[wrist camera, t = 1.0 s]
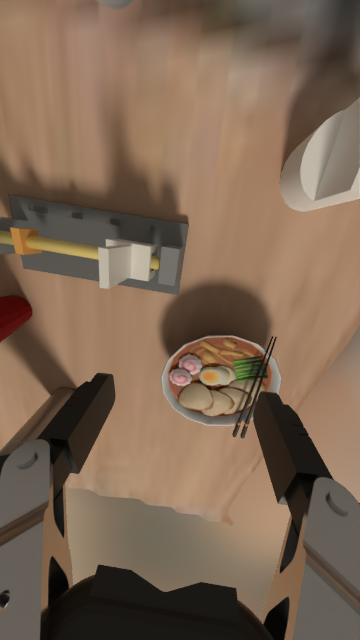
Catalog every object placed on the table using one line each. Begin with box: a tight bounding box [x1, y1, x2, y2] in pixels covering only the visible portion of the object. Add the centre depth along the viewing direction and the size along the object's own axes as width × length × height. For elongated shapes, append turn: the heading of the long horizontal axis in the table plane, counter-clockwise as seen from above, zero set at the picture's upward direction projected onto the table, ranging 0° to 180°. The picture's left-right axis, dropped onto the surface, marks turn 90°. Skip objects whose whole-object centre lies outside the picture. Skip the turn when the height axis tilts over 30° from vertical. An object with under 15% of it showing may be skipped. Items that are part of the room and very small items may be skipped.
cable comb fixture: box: [0, 194, 189, 295], centre depth 29 cm, size 30×12×9 cm, turn 81°
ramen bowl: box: [161, 335, 282, 438], centre depth 38 cm, size 25×23×8 cm
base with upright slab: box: [280, 97, 360, 211], centre depth 21 cm, size 9×9×12 cm
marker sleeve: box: [98, 239, 158, 289], centre depth 24 cm, size 6×5×12 cm
